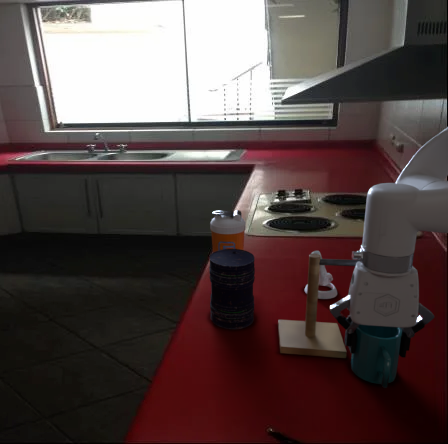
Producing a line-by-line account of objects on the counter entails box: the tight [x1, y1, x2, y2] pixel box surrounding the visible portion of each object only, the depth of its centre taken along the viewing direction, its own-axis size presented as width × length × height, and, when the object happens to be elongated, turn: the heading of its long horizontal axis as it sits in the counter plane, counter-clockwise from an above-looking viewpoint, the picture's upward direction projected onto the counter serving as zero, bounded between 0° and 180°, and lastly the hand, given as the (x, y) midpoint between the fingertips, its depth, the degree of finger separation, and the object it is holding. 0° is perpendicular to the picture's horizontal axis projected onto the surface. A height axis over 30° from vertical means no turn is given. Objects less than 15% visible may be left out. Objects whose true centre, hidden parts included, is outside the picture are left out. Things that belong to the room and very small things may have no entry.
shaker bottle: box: [209, 209, 247, 253], centre depth 108 cm, size 9×9×20 cm
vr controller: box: [304, 250, 338, 300], centre depth 105 cm, size 8×12×7 cm
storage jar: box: [208, 249, 256, 330], centre depth 93 cm, size 10×10×15 cm
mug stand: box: [277, 253, 359, 359], centre depth 81 cm, size 19×10×19 cm, turn 78°
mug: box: [350, 325, 403, 389], centre depth 72 cm, size 11×7×9 cm
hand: (375, 350), depth 74 cm, fingers closed on mug, 7 cm apart
